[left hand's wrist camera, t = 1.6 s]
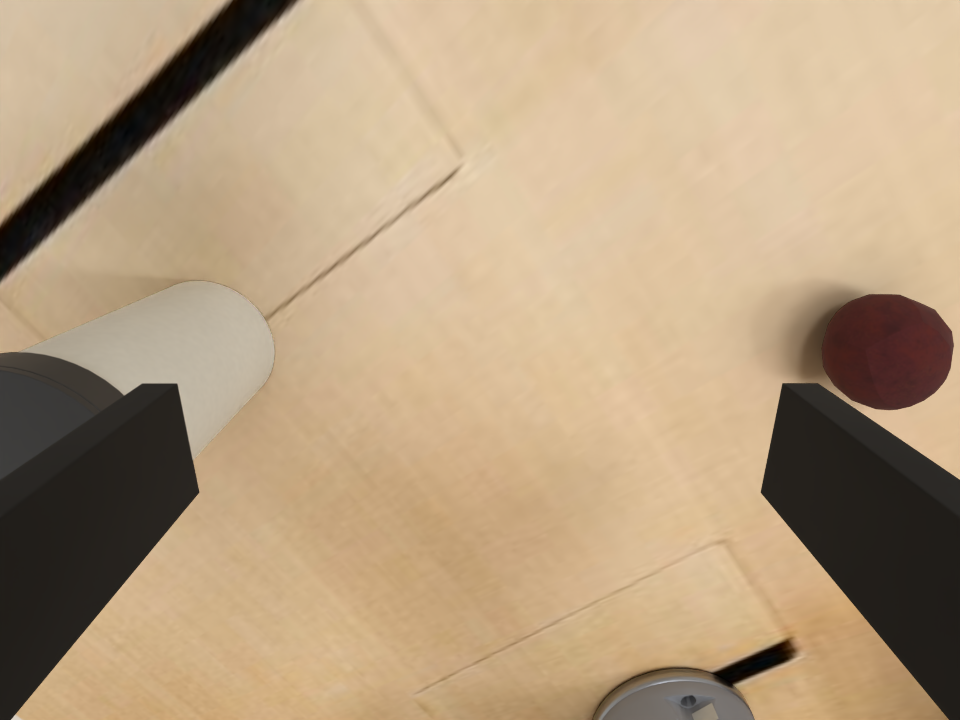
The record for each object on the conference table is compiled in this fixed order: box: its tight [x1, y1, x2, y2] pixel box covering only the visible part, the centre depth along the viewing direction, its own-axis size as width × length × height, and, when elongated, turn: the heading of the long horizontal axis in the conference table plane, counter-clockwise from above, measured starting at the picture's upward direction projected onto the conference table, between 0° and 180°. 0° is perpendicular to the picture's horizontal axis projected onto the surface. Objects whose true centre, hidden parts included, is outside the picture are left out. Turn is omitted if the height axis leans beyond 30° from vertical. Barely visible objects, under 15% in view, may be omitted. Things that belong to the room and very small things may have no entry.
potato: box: [822, 294, 954, 410], centre depth 37 cm, size 7×8×7 cm
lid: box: [0, 352, 124, 480], centre depth 25 cm, size 10×10×2 cm
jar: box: [20, 281, 275, 460], centre depth 33 cm, size 10×10×18 cm
